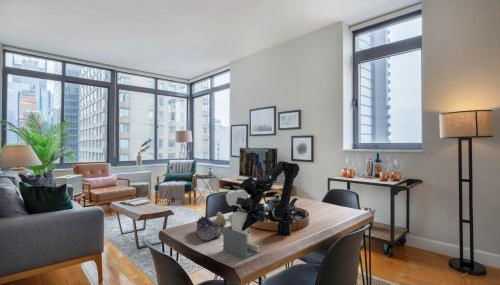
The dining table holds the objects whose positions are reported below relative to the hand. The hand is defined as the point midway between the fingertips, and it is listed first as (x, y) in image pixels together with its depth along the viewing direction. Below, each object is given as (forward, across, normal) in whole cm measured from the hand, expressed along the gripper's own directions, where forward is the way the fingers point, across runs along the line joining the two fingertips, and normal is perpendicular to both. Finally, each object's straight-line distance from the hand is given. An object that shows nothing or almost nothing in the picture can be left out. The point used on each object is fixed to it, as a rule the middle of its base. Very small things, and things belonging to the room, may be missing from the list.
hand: (237, 229), depth 120 cm
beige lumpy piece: (-3, -37, +19) cm, 41 cm away
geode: (+6, -29, +10) cm, 31 cm away
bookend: (+6, 0, +9) cm, 11 cm away
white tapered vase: (+4, 0, +6) cm, 7 cm away
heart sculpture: (-19, -41, +35) cm, 57 cm away
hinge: (-8, -24, +24) cm, 34 cm away
